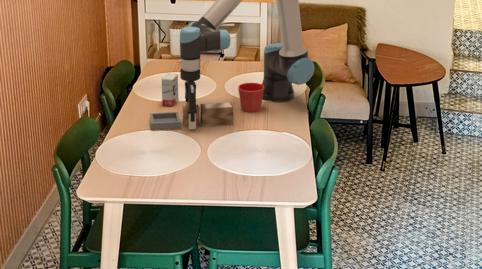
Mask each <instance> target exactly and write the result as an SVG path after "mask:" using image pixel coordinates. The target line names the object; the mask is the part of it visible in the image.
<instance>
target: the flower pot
mask: <svg viewBox="0 0 482 269" xmlns="http://www.w3.org/2000/svg"><path fill="white" fill-rule="evenodd" d="M237 90H238V95H239V101H240V106H241V110H242V111H244V112H245V113H255V112H256V113H257V112H258V111H260V110H261V108H262V104H263V103H262V102H263V100H264V99H263V93H264V86H263V85H262V83H258V82H245V83H241V84H239V85H238V88H237Z"/></svg>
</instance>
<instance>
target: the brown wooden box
mask: <svg viewBox="0 0 482 269" xmlns="http://www.w3.org/2000/svg"><path fill="white" fill-rule="evenodd" d="M199 109H200V124H201V126H202V127H210V126H214V127H215V126H228V125H229V126H230V125H233V126H234V106H233V104H232V102H212V103H209V102H206V103H200V107H199Z"/></svg>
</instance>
